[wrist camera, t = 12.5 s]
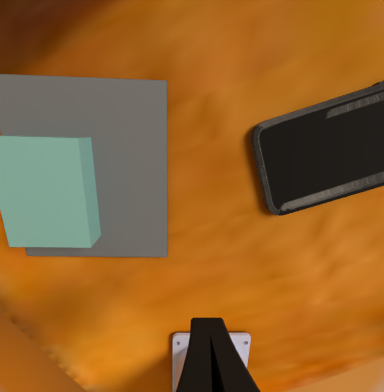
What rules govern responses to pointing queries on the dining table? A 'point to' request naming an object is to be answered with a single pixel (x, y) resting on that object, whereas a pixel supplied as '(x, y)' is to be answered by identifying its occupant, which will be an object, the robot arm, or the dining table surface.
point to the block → (48, 191)
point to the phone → (321, 151)
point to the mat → (103, 151)
